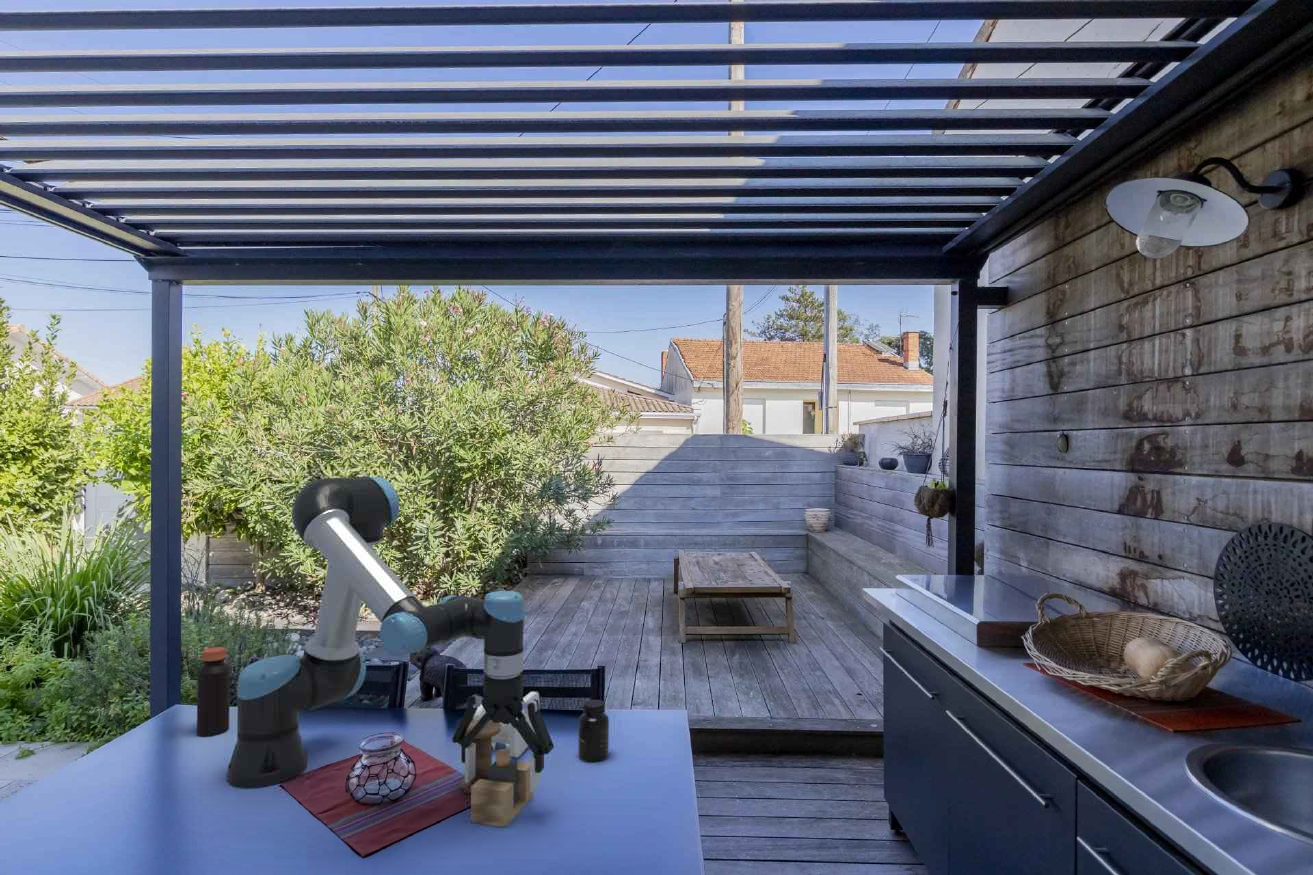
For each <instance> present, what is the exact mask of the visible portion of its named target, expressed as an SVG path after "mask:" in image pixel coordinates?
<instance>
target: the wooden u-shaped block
mask: <svg viewBox="0 0 1313 875" xmlns="http://www.w3.org/2000/svg"><path fill="white" fill-rule="evenodd" d="M513 784H514V783H508V782H500V781H492V780H484V779H479V780H478V781H477V782H476V783H475V784H474V785H473V786H471V794H470V823H472V824H479V825H487V826H493V827H500V828H507V826H508V825H509V824H510V823H511V822H512V821H513V819H514V818H516V816H518V814H519V813H520V812H521V811H520V810H523V809H524V807H525V806H526V805H527V804H528V803H529V802H528V801H531V799H532V798H534V797H533V794H534V792H531V791H530V762H523V761H517V803H516V804H515V805H514V806H513ZM527 802H528V803H527ZM526 803H527V804H526ZM525 804H526V805H525ZM524 805H525V806H524Z"/></svg>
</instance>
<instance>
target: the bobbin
mask: <svg viewBox="0 0 1313 875" xmlns="http://www.w3.org/2000/svg"><path fill="white" fill-rule="evenodd" d="M479 721H480V720H474V721H473V720H472V721H471V723H470V725H469V727H468V729H467V731H466V733H465V736H467V735H468V733H469V732H470V731H471V730H472V729H473V728H474V726H475V725H476V724H477V723H478V722H479ZM500 731H501V724H500V723H493V721H492V720H490V721H489V722H488V723H487V724H486V725H485V726H484V728H483V729H482V730H481V731H480V732H479V733H478V735H477V736H476V737H475V738H474V739H473V741H472V742H471V743H476V756H475V777H474V778H473V779H472V780H471V781H470V782H468V783H467V782H465V776H464V777H462V778H461V780H460V790H461V791H462V790H463V791H465V792H468V793H471V786H473V785H474V784H475V783H476V782H477V781H478V780H479V779H484V780H489V767H490V766H491V765H492V764H493V763H492V760H493V759H492V757H493V756H492V751H493V747H492V736H495V735H497V734H498V733H499V732H500ZM463 791H462V792H463ZM465 792H464V793H465ZM468 793H467V794H468Z"/></svg>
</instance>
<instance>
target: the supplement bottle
mask: <svg viewBox="0 0 1313 875" xmlns="http://www.w3.org/2000/svg"><path fill="white" fill-rule="evenodd" d="M582 707H583V709H582V712H583V713H582V714H581V715H580V716H579V719H578V745H577V746H578V749H577V750H578V753H577V754H578V757H579V759H580V760H582V761H584V762H587V763H598V762H602V761H604V760H606V759H608V758H607V757H608V756H609V742H610V738H609V735H610V733H609V732H610V719H609V715H607V713H605V711H606V705H605V702H604V701H603V700H601V699H589V700H586V701H584V702H583V706H582Z"/></svg>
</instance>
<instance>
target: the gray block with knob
mask: <svg viewBox="0 0 1313 875" xmlns="http://www.w3.org/2000/svg"><path fill="white" fill-rule="evenodd" d="M517 762H518V761H517V760H512V759H511V756H510V750H509V748H508V749H506V748H501V749H498V750H496V752H495V761H494V762H493V763H492V765H491V766H490V767H489V780H492V781H500V782H508V783H514V784H513V806H514V805H515V804H516V803H517Z"/></svg>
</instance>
